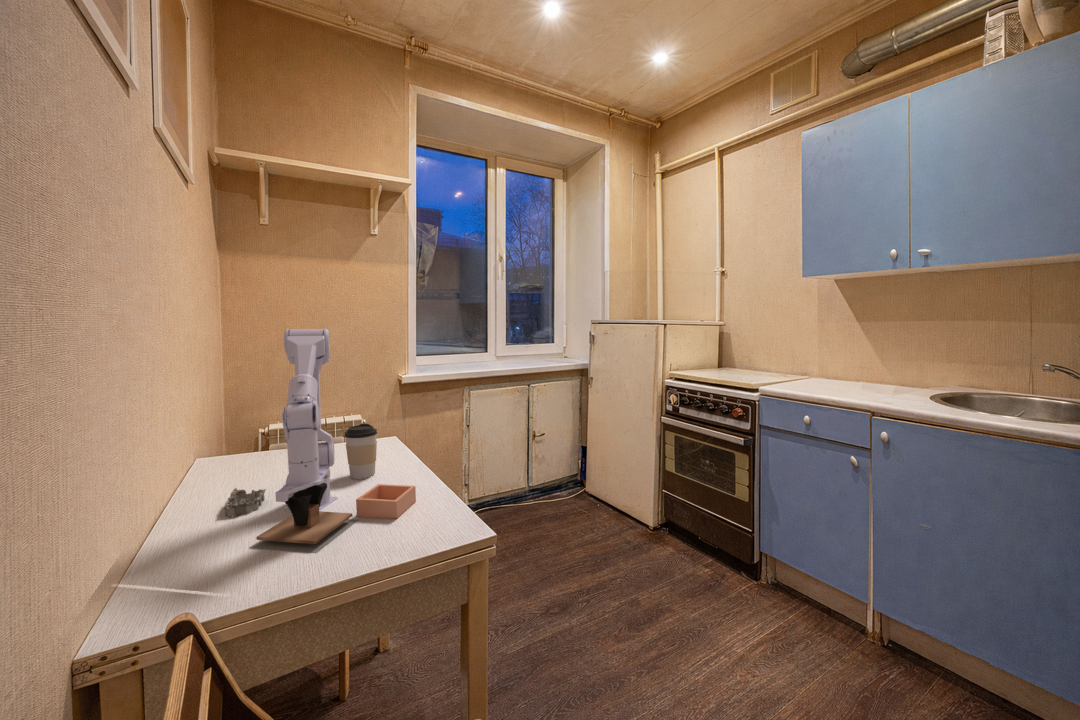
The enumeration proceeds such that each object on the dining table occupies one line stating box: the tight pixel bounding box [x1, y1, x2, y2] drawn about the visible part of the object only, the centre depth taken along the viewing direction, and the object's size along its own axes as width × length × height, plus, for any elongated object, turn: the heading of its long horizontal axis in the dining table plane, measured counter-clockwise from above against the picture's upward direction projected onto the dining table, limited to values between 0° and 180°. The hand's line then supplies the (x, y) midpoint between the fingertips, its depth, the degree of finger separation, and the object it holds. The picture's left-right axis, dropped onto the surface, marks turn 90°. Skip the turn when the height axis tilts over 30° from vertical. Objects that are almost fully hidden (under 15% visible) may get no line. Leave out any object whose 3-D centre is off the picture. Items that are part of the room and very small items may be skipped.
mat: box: [248, 518, 359, 554], centre depth 95 cm, size 15×15×1 cm
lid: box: [256, 504, 353, 544], centre depth 95 cm, size 13×13×5 cm
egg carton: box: [223, 487, 267, 517], centre depth 110 cm, size 11×8×4 cm
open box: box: [355, 483, 417, 520], centre depth 107 cm, size 10×10×4 cm
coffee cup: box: [344, 423, 378, 480], centre depth 132 cm, size 9×9×15 cm
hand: (306, 521), depth 95 cm, fingers closed on lid, 3 cm apart
